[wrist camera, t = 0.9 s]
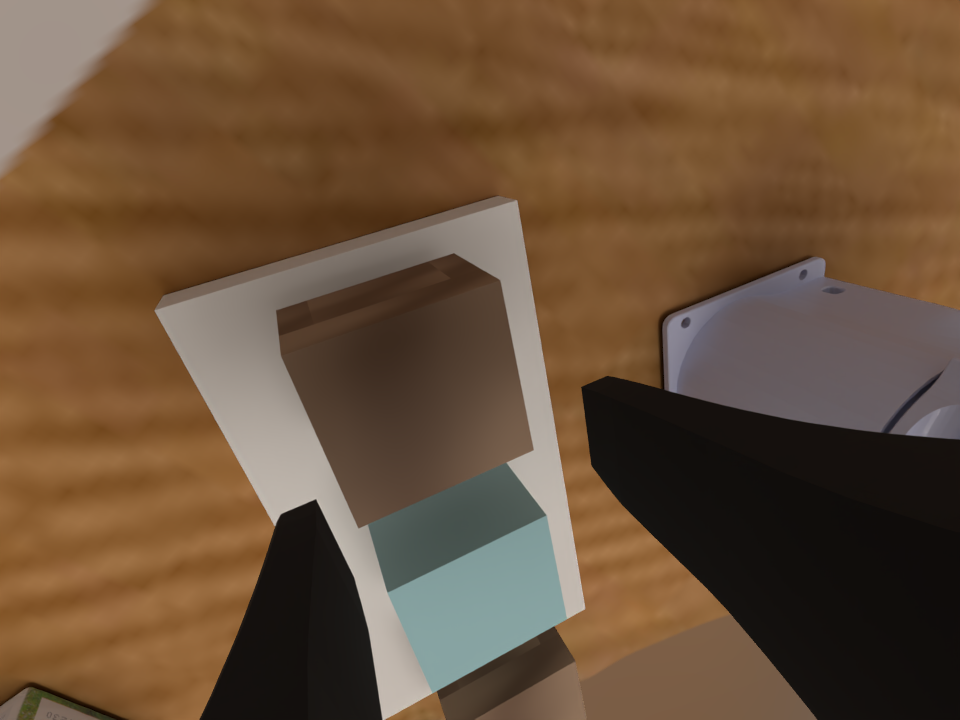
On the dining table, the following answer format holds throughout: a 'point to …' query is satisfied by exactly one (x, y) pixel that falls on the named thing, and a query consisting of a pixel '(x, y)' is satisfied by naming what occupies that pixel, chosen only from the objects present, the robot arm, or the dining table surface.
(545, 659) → the far walnut button
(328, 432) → the brown ledged cube
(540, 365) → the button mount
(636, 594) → the dining table surface
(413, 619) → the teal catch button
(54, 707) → the syrup box
